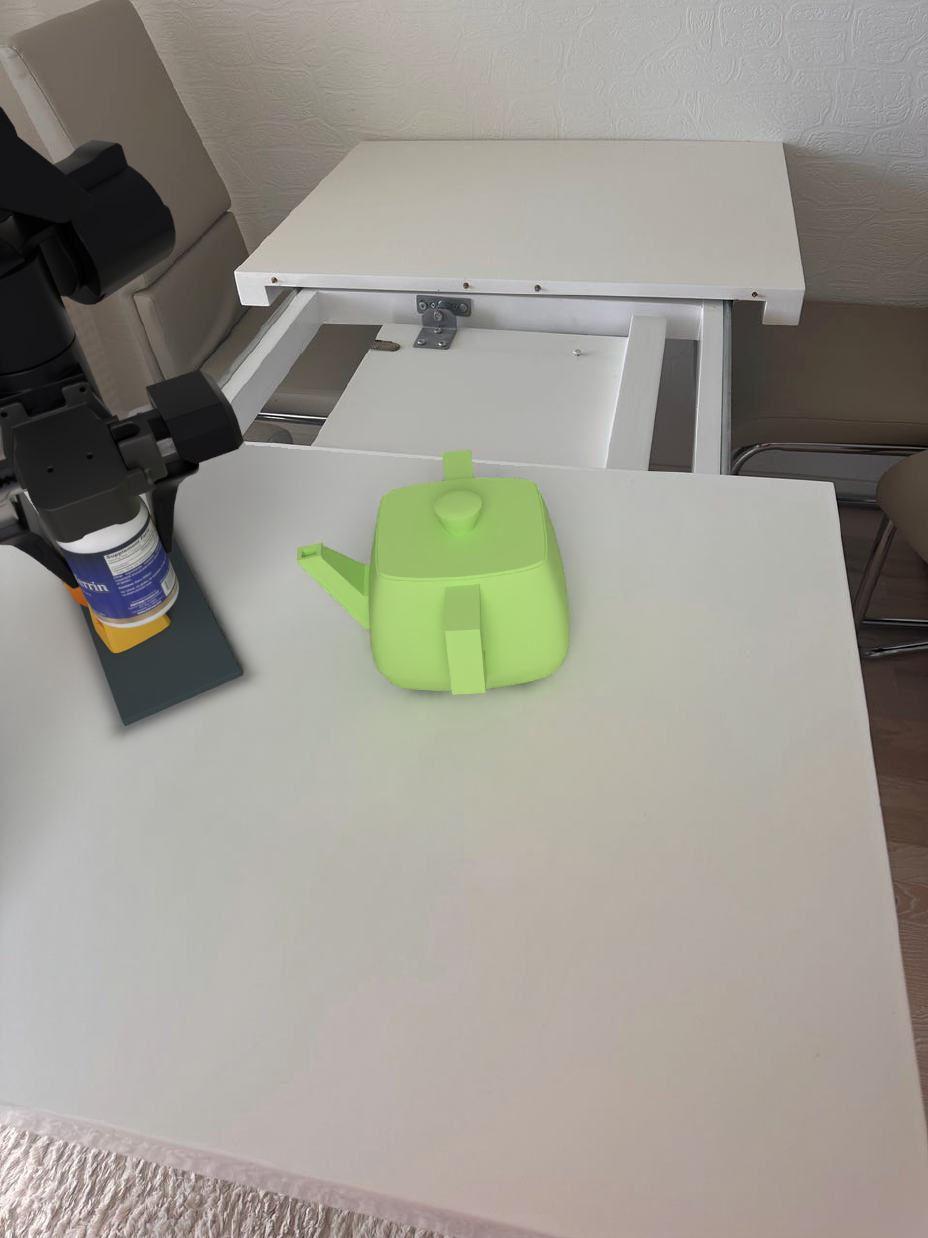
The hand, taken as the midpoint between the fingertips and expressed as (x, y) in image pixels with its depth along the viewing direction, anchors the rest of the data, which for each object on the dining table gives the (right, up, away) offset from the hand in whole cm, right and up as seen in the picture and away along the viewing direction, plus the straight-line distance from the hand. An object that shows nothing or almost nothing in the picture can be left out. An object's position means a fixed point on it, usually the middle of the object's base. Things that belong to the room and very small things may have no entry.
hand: (121, 566), depth 60 cm
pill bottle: (0, -2, +2) cm, 3 cm away
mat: (-4, -3, +16) cm, 17 cm away
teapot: (+20, -5, +11) cm, 24 cm away
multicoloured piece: (-7, -2, +16) cm, 18 cm away
